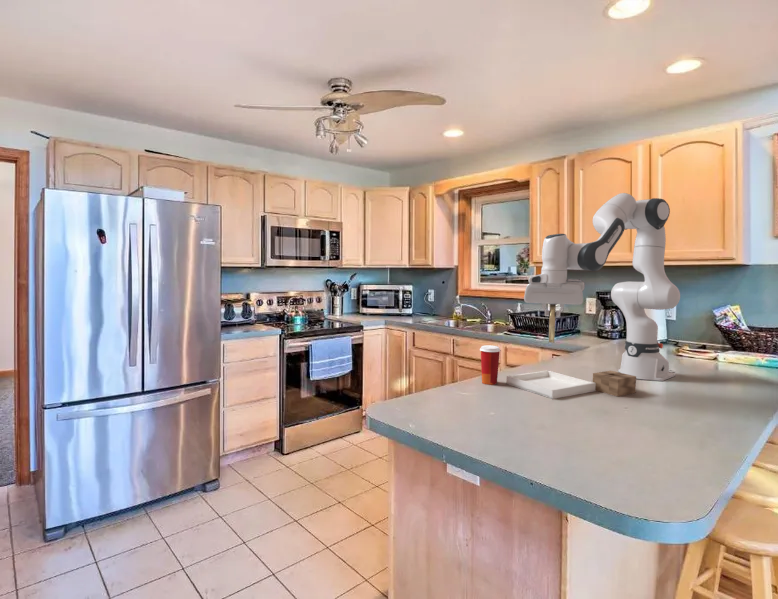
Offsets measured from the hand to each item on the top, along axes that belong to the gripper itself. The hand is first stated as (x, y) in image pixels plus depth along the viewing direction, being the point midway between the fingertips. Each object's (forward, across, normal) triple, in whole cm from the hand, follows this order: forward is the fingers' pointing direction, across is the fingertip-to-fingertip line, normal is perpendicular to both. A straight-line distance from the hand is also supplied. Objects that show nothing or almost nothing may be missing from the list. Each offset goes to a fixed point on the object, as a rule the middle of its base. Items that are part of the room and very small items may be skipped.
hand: (552, 316), depth 165 cm
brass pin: (+10, 0, 0) cm, 10 cm away
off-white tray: (+26, 0, 0) cm, 26 cm away
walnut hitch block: (+26, -22, -4) cm, 34 cm away
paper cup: (+27, +22, +3) cm, 35 cm away
